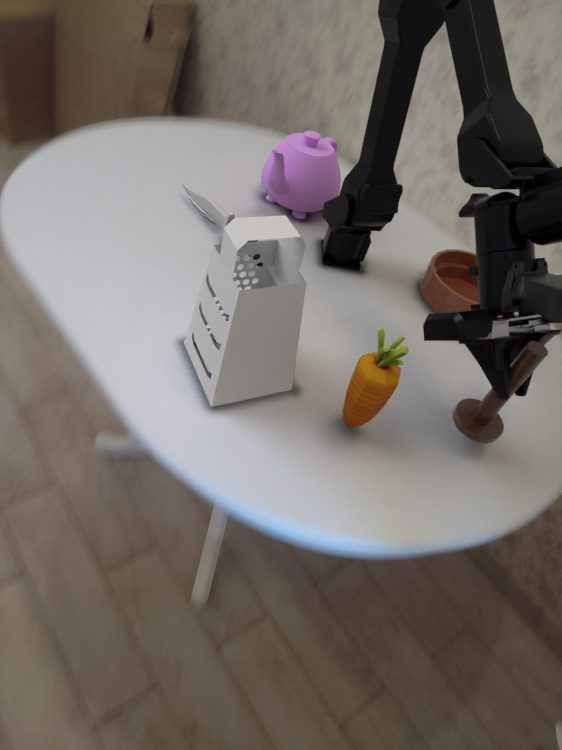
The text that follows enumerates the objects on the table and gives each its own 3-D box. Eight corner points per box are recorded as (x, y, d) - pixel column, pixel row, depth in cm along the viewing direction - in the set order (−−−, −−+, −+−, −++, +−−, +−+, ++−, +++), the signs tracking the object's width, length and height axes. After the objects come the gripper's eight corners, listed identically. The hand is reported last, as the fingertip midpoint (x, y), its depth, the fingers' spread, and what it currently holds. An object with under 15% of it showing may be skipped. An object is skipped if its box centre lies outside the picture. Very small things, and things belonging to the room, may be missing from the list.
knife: (175, 193, 87) (177, 165, 83) (184, 192, 88) (187, 164, 84) (259, 281, 76) (265, 253, 72) (268, 278, 77) (275, 251, 73)
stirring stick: (458, 440, 59) (519, 365, 50) (447, 399, 63) (503, 323, 54) (505, 447, 60) (575, 374, 51) (492, 406, 64) (554, 332, 55)
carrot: (326, 409, 62) (367, 318, 51) (364, 411, 63) (412, 323, 52) (332, 443, 59) (377, 354, 48) (372, 445, 60) (425, 359, 49)
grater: (183, 343, 65) (198, 199, 50) (259, 331, 69) (293, 196, 54) (211, 407, 59) (236, 266, 44) (291, 389, 63) (339, 256, 49)
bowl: (426, 323, 78) (440, 298, 74) (412, 267, 87) (424, 242, 84) (511, 338, 80) (529, 314, 76) (488, 281, 89) (503, 258, 86)
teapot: (290, 241, 85) (308, 169, 76) (227, 200, 89) (237, 128, 80) (353, 205, 97) (375, 140, 88) (295, 171, 101) (310, 106, 92)
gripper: (499, 244, 43) (508, 424, 45) (640, 236, 51) (643, 391, 52) (415, 261, 53) (425, 408, 55) (542, 253, 61) (548, 383, 63)
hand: (512, 397), depth 56 cm, fingers closed on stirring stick, 2 cm apart
